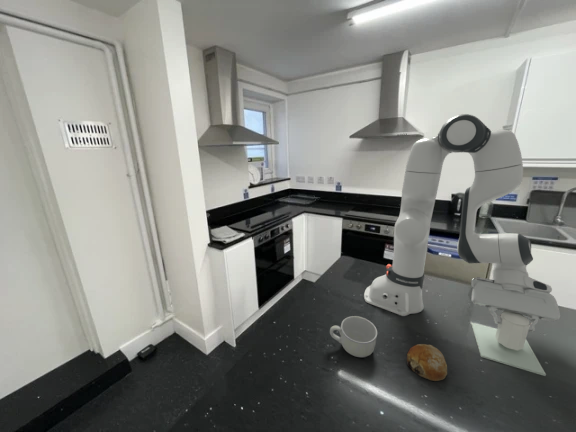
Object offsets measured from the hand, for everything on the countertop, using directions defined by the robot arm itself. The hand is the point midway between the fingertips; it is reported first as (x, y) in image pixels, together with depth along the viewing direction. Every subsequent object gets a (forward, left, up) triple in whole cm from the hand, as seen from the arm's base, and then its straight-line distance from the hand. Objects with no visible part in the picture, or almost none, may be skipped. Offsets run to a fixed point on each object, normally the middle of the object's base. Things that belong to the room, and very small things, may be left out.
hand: (513, 327), depth 72 cm
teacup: (-43, -21, -8) cm, 49 cm away
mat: (-1, +1, -8) cm, 8 cm away
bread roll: (-23, -19, -8) cm, 31 cm away
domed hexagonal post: (0, +1, -6) cm, 6 cm away
